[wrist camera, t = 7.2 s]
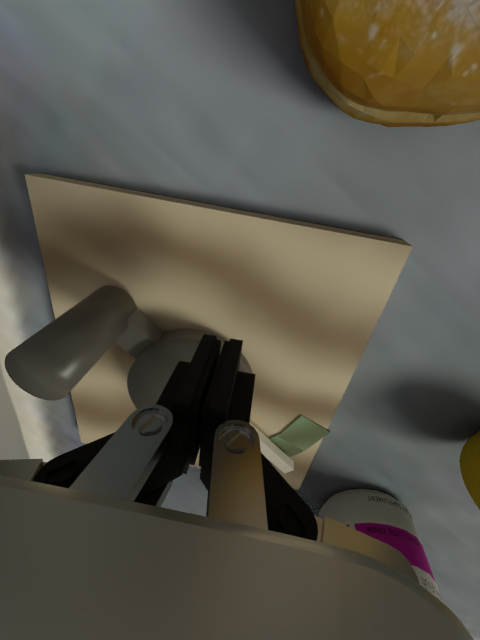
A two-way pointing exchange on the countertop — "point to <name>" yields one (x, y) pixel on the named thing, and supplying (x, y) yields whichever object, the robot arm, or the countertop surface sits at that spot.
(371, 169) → the countertop surface
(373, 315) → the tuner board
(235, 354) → the robot arm
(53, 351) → the dark grey handled piece
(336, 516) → the supplement can
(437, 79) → the bread
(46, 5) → the countertop surface
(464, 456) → the lemon
